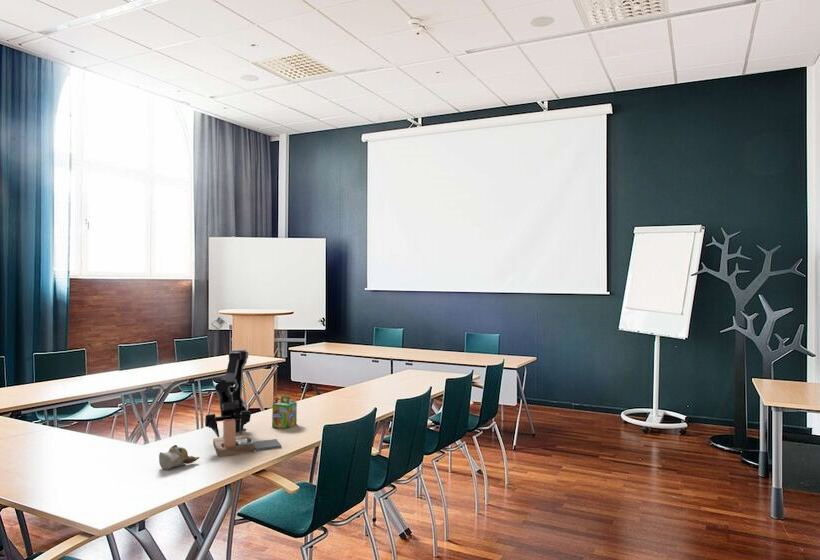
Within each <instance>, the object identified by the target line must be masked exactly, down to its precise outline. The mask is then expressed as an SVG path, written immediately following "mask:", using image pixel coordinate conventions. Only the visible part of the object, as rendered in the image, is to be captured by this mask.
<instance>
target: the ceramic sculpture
mask: <svg viewBox="0 0 820 560" xmlns="http://www.w3.org/2000/svg"><path fill="white" fill-rule="evenodd" d="M158 454H159V455H158V460H159V461H158V462H159V463H158V464H159V465H160V468H161V469H163V470H164V469H169V470H171V468H172V467H179V465H181V466H183V465H185V464H186V465H189V464H192V463H195V462H196V461H197V460H199V459H200V457H199V456H198V457H196V456H193V455H188V454H189V453H188V450H187V449H186V448H185V447H182V446H178V445H177V444H174V445H173V446H172V445H171V447H170V448H169V449H168V451H167V452H166V451H165V452H159V453H158Z"/></svg>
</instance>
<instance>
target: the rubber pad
mask: <svg viewBox="0 0 820 560" xmlns="http://www.w3.org/2000/svg"><path fill="white" fill-rule="evenodd" d="M252 442H253V444H254V446H255V452H257V451H265V450H266V451H267V450H272V449H273V450H274V449H280V448H281V449H282V445H281V443H280V442H279V441H278V439H276V438H274V439H267V440H264V439H263V440H257V441H252Z"/></svg>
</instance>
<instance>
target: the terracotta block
mask: <svg viewBox="0 0 820 560" xmlns="http://www.w3.org/2000/svg"><path fill="white" fill-rule="evenodd" d="M222 423H223V425H222V426H223V427H222V429H223V437H222V438H223V442H224V447H232V446H236V436H237V435H236V434H237V432H236V422H235V419H226V420H223V421H222Z"/></svg>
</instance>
